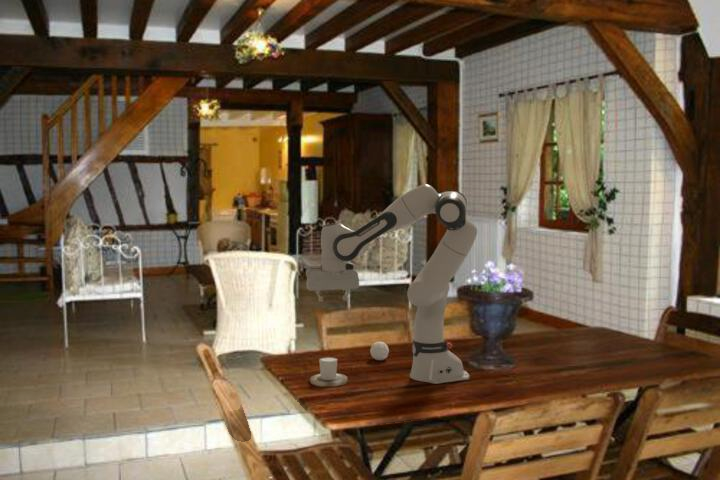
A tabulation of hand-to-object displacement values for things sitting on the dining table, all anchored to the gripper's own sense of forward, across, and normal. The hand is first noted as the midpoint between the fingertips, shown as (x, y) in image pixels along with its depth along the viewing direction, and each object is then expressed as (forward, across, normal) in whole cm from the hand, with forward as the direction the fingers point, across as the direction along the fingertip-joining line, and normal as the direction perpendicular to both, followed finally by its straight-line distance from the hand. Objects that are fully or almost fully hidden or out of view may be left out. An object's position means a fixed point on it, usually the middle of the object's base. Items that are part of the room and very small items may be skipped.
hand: (333, 300), depth 276 cm
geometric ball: (+29, +22, +16) cm, 40 cm away
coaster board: (+28, -4, -10) cm, 30 cm away
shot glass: (+27, -4, -10) cm, 29 cm away
